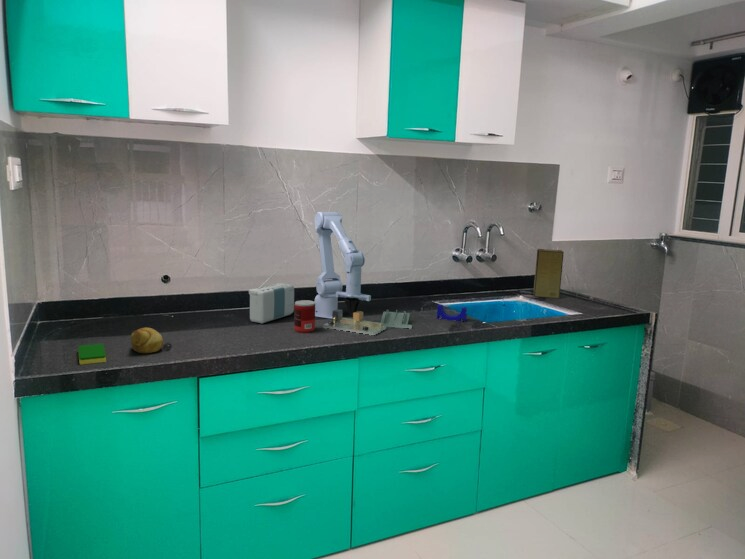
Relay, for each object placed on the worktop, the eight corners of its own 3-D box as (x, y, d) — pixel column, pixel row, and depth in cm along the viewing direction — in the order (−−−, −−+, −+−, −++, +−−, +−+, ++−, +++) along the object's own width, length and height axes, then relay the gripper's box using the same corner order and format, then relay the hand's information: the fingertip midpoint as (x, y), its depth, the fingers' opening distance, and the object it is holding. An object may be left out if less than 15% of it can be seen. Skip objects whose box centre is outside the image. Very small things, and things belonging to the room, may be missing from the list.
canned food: (318, 329, 214) (318, 301, 212) (309, 334, 207) (309, 305, 205) (300, 326, 216) (300, 299, 215) (290, 331, 209) (291, 303, 207)
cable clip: (466, 320, 239) (467, 306, 238) (464, 322, 235) (465, 308, 234) (439, 316, 243) (440, 303, 242) (436, 319, 239) (437, 305, 238)
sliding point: (351, 324, 217) (352, 313, 216) (357, 321, 222) (357, 310, 221) (357, 325, 216) (358, 314, 215) (362, 322, 221) (363, 311, 220)
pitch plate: (322, 327, 216) (322, 314, 215) (336, 321, 227) (337, 308, 226) (374, 335, 208) (374, 321, 207) (386, 328, 219) (387, 315, 218)
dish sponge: (79, 366, 164) (79, 358, 164) (78, 352, 176) (78, 345, 176) (106, 363, 168) (105, 355, 167) (103, 350, 180) (103, 343, 179)
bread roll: (130, 345, 185) (129, 322, 184) (161, 342, 189) (160, 319, 188) (131, 356, 174) (130, 331, 172) (164, 353, 178) (164, 329, 176)
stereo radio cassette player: (263, 325, 217) (263, 274, 213) (246, 322, 221) (246, 272, 217) (294, 315, 235) (295, 268, 232) (279, 312, 239) (279, 266, 235)
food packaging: (558, 295, 302) (562, 249, 298) (559, 298, 293) (564, 251, 289) (532, 293, 305) (536, 248, 301) (533, 296, 296) (537, 250, 292)
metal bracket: (379, 306, 233) (414, 309, 231) (379, 318, 235) (414, 321, 233) (373, 323, 220) (411, 326, 218) (373, 336, 223) (410, 339, 220)
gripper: (332, 282, 217) (331, 316, 219) (366, 286, 211) (364, 321, 213) (340, 279, 223) (339, 312, 225) (373, 283, 217) (372, 317, 220)
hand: (352, 316), depth 220 cm, fingers closed
